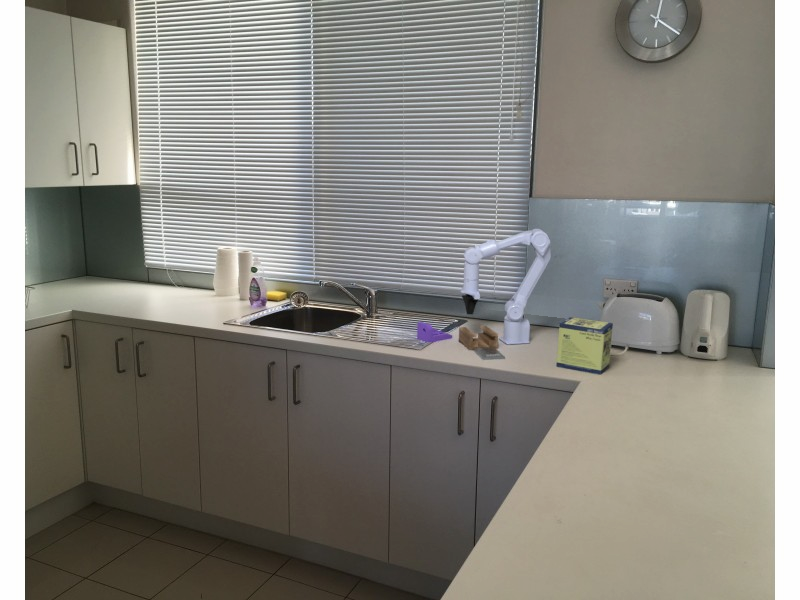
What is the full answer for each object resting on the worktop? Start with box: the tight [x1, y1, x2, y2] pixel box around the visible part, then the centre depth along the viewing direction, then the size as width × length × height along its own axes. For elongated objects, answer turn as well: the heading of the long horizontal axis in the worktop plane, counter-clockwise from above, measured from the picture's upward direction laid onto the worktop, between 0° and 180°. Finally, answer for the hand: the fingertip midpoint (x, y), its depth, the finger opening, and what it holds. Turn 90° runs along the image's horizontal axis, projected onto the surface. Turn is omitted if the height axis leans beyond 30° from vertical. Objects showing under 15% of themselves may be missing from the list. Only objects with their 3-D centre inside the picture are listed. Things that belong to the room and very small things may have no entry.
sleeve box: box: [458, 325, 499, 351], centre depth 254 cm, size 11×12×6 cm
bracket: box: [416, 321, 453, 343], centre depth 262 cm, size 12×7×7 cm, turn 127°
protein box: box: [555, 317, 614, 376], centre depth 229 cm, size 10×16×16 cm
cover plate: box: [472, 347, 506, 361], centre depth 243 cm, size 8×12×2 cm, turn 11°
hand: (469, 314), depth 259 cm, fingers closed
